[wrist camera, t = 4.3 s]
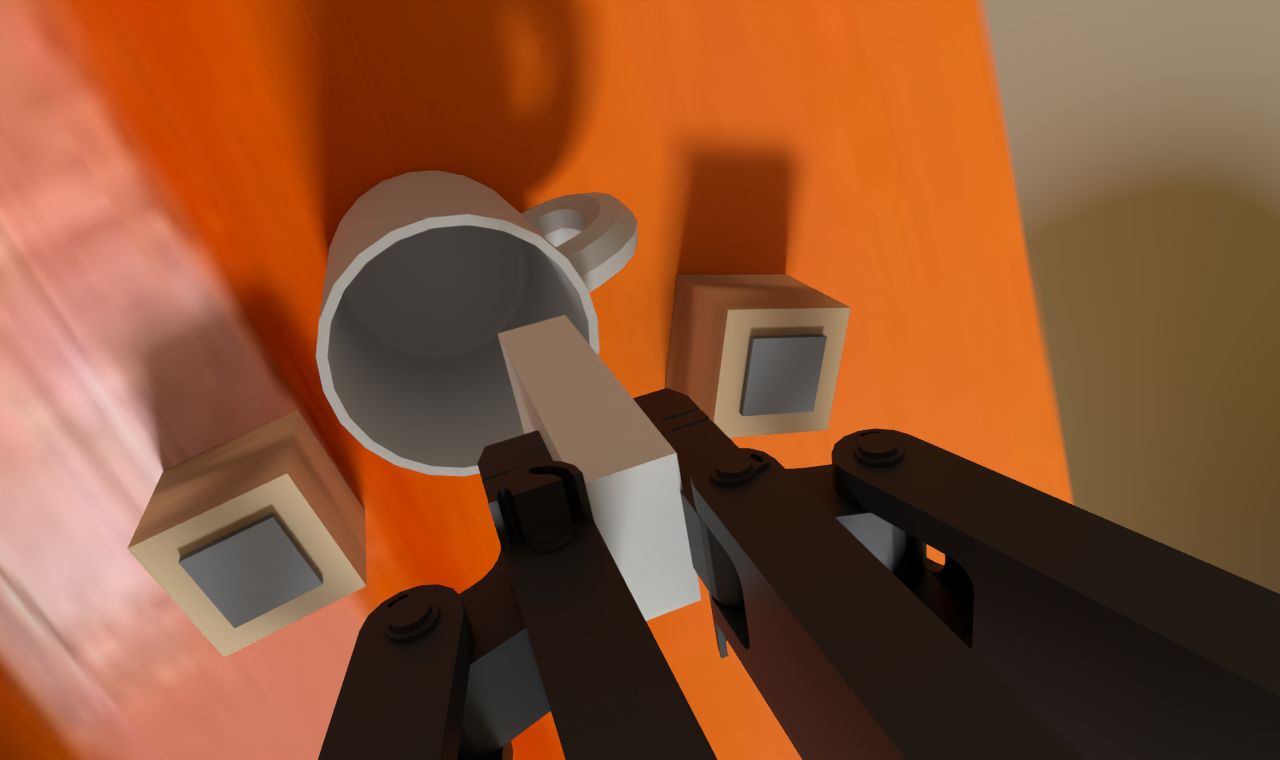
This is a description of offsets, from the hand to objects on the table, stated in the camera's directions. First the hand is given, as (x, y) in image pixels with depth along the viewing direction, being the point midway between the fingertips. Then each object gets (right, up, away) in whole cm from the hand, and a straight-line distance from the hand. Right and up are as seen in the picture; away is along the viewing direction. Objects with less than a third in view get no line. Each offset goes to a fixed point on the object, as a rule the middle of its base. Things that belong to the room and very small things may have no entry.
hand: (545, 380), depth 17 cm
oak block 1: (-12, -4, +12) cm, 17 cm away
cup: (-4, +5, +11) cm, 13 cm away
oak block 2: (+6, +2, +16) cm, 17 cm away
